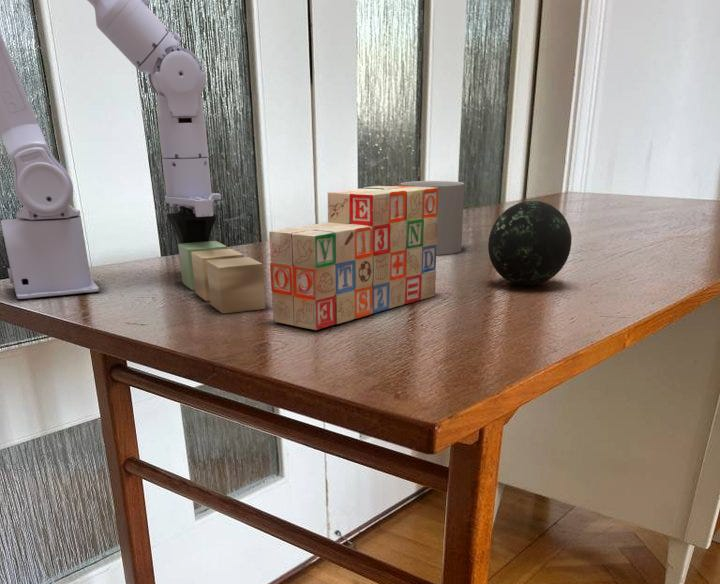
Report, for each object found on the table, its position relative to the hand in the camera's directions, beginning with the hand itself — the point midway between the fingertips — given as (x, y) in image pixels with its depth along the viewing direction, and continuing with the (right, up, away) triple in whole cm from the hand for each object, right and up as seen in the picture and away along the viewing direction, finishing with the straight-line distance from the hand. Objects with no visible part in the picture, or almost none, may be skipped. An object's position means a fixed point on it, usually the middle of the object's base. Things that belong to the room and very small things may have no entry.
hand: (196, 268), depth 100 cm
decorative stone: (+43, -4, -5) cm, 43 cm away
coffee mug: (+34, +9, +22) cm, 42 cm away
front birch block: (+8, -8, -14) cm, 18 cm away
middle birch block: (+5, -6, -9) cm, 11 cm away
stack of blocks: (+22, -9, -16) cm, 28 cm away
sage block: (+2, -3, -3) cm, 4 cm away
